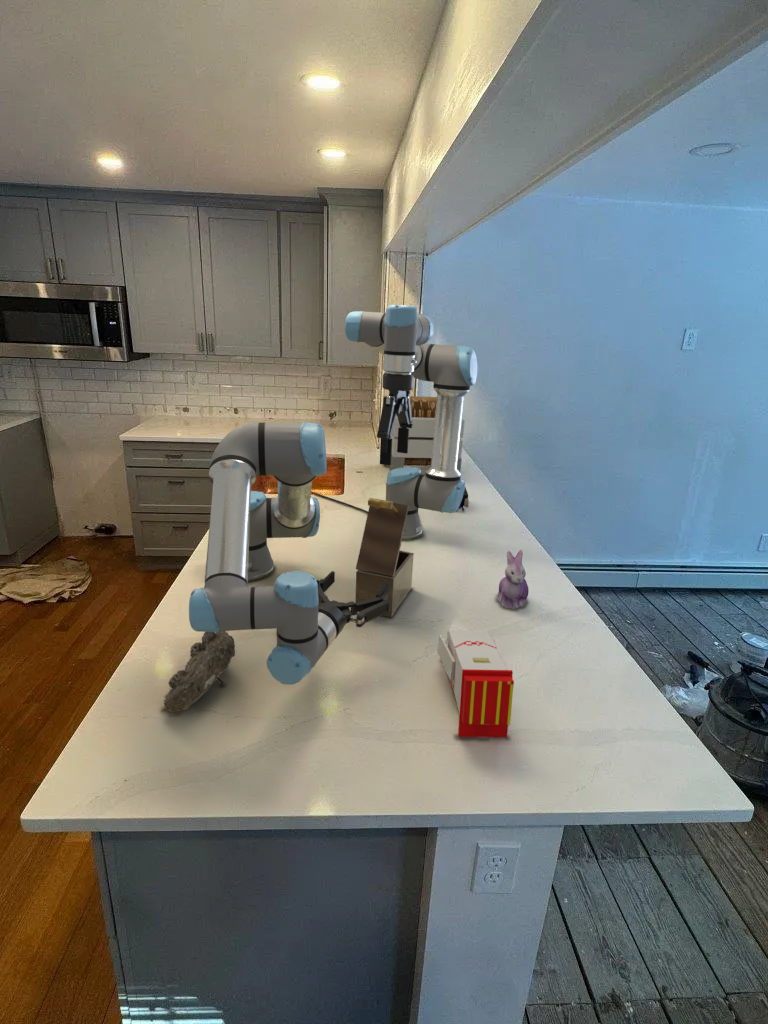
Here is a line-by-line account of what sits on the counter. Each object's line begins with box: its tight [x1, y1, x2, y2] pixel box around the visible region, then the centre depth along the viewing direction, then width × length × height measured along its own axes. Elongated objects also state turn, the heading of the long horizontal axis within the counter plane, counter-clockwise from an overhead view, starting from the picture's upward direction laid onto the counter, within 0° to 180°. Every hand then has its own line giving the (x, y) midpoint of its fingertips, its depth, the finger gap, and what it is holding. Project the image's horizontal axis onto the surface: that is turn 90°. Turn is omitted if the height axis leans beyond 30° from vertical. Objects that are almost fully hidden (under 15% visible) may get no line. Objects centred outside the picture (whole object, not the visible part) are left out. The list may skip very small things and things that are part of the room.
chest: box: [354, 550, 415, 618], centre depth 153 cm, size 18×10×11 cm, turn 161°
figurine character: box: [455, 486, 470, 512], centre depth 229 cm, size 7×8×15 cm
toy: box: [437, 628, 515, 738], centre depth 117 cm, size 12×13×30 cm
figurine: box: [497, 549, 530, 610], centre depth 154 cm, size 9×10×15 cm
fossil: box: [163, 631, 236, 713], centre depth 116 cm, size 22×10×15 cm
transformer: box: [383, 395, 465, 474], centre depth 268 cm, size 34×33×41 cm
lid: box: [355, 497, 409, 577], centre depth 141 cm, size 18×10×9 cm
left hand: (359, 581), depth 133 cm, fingers open, 13 cm apart
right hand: (394, 458), depth 144 cm, fingers open, 13 cm apart
